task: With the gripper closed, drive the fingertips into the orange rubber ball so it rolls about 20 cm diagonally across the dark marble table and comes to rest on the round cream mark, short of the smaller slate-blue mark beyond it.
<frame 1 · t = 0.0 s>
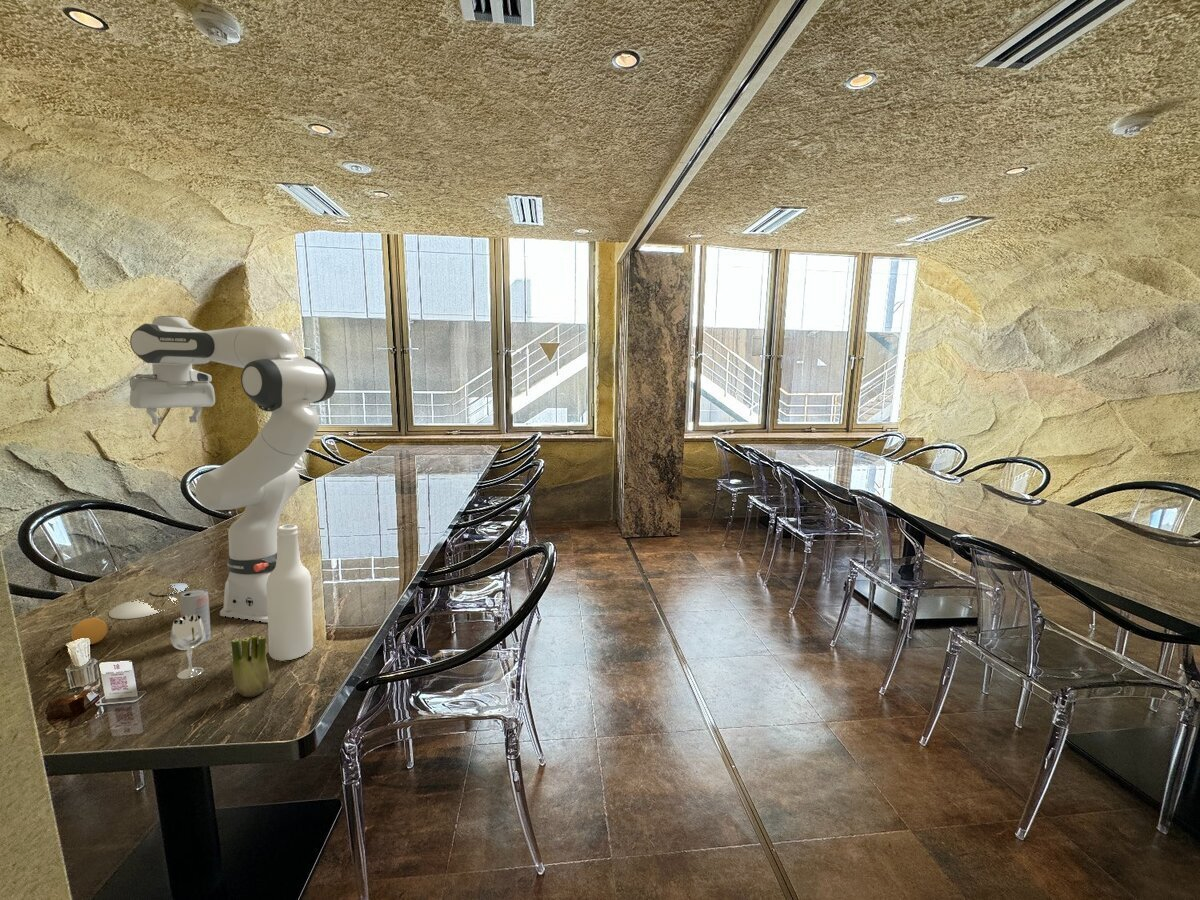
hand: (176, 423, 152), 48 cm above the table, tool pointing down, fingers open, 8 cm apart
energy drink: (196, 641, 125), on the table
white bottle: (291, 653, 122), on the table
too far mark: (170, 589, 153), on the table
fennel bulb: (253, 693, 107), on the table
ball: (89, 631, 122), on the table
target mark: (144, 607, 141), on the table
wineglass: (190, 673, 112), on the table
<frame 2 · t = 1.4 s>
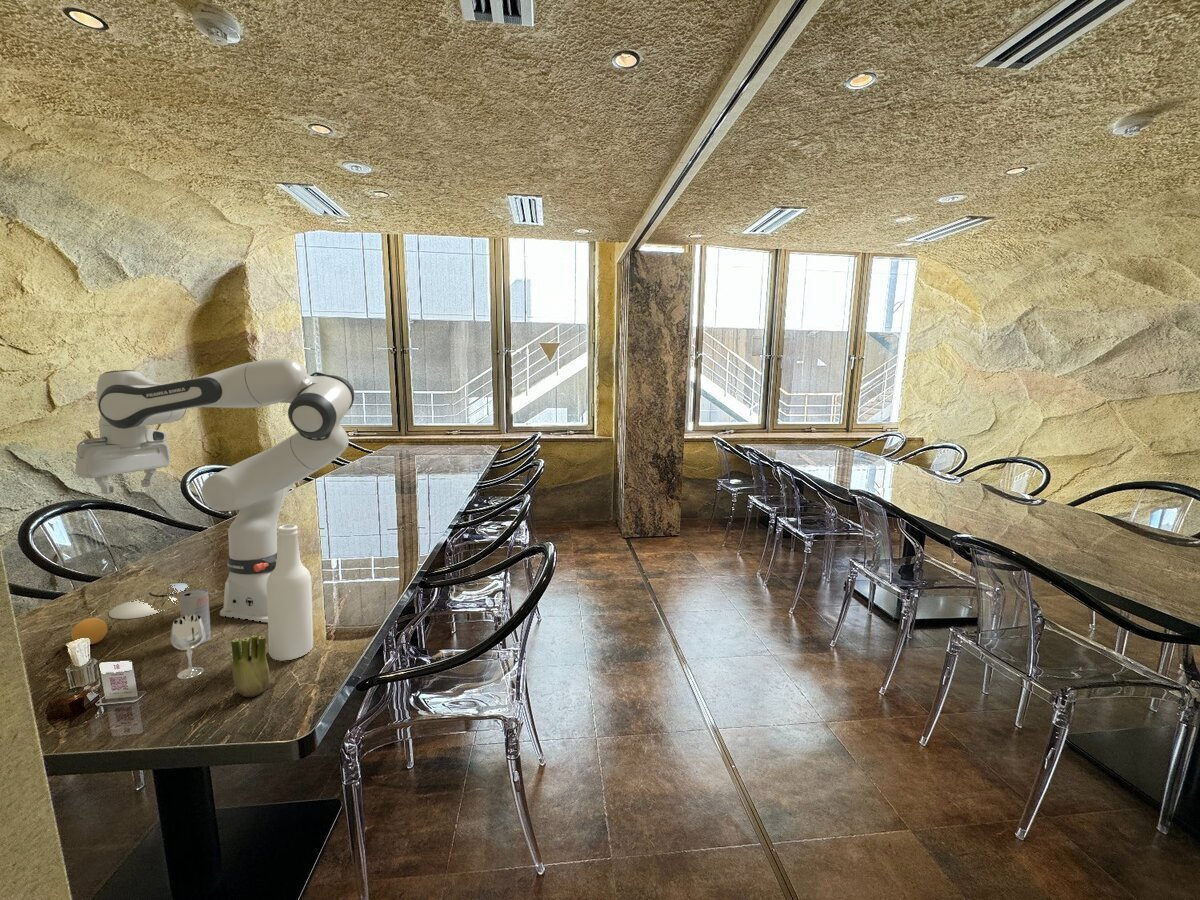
hand: (127, 490, 133), 33 cm above the table, tool pointing down, fingers open, 8 cm apart
nothing on the table moved.
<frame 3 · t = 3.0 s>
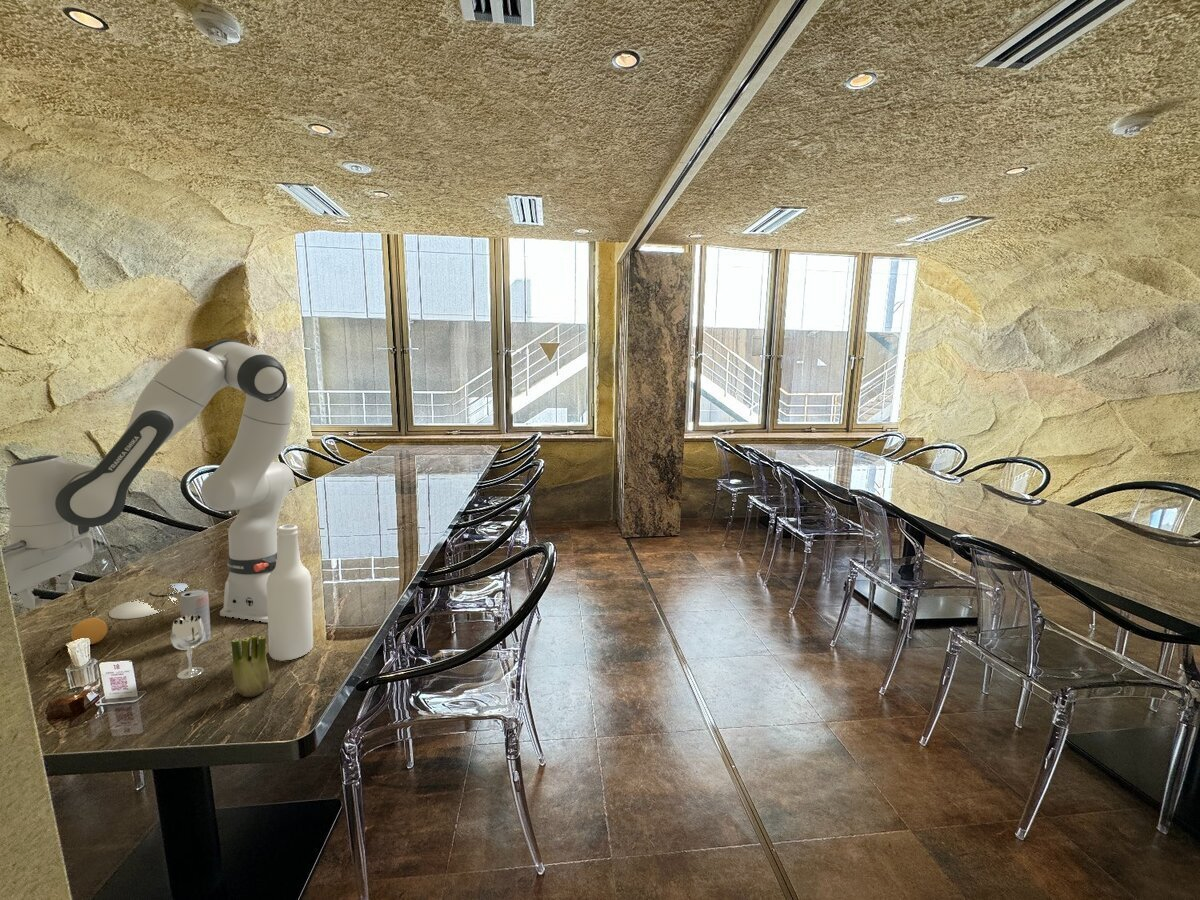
hand: (48, 598, 111), 15 cm above the table, tool pointing down, fingers open, 6 cm apart
nothing on the table moved.
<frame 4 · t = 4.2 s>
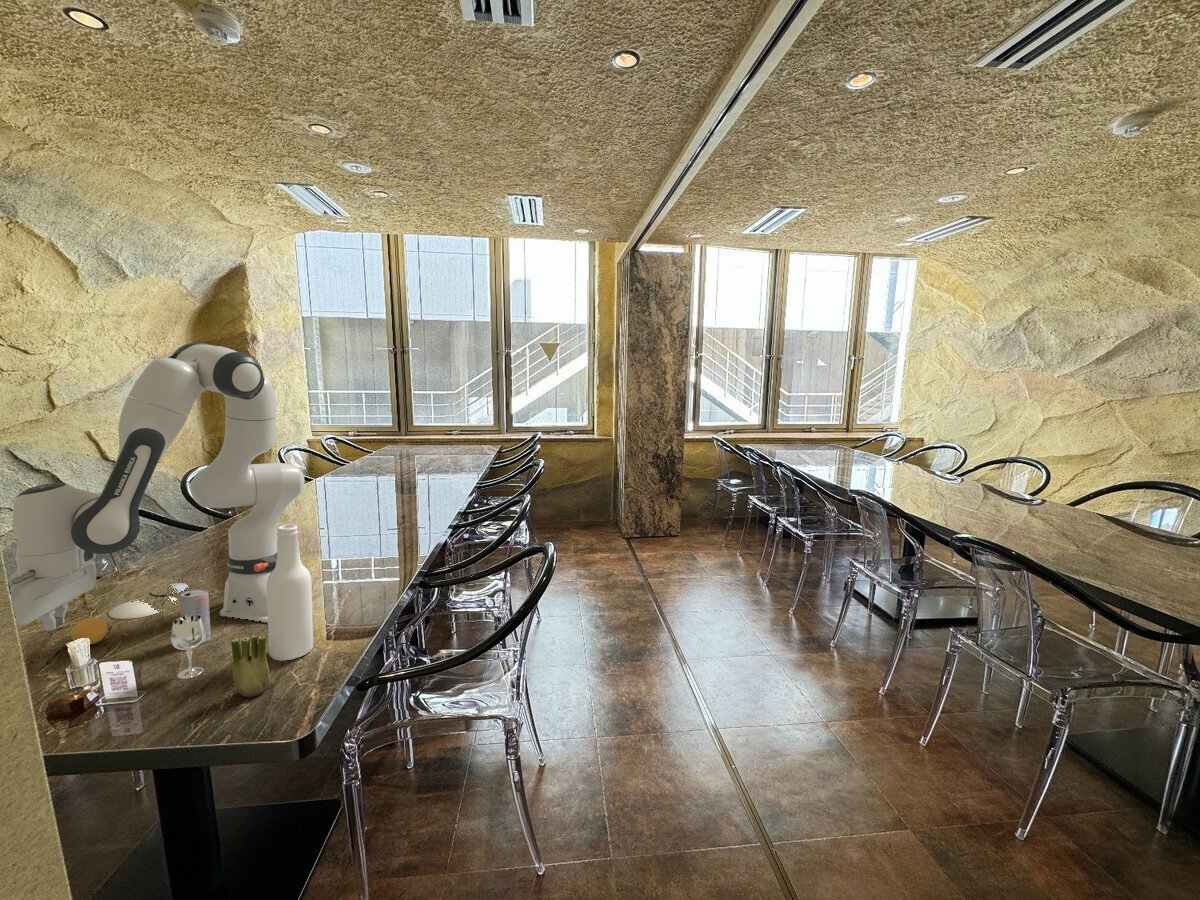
hand: (54, 627, 110), 10 cm above the table, tool pointing down, fingers closed
nothing on the table moved.
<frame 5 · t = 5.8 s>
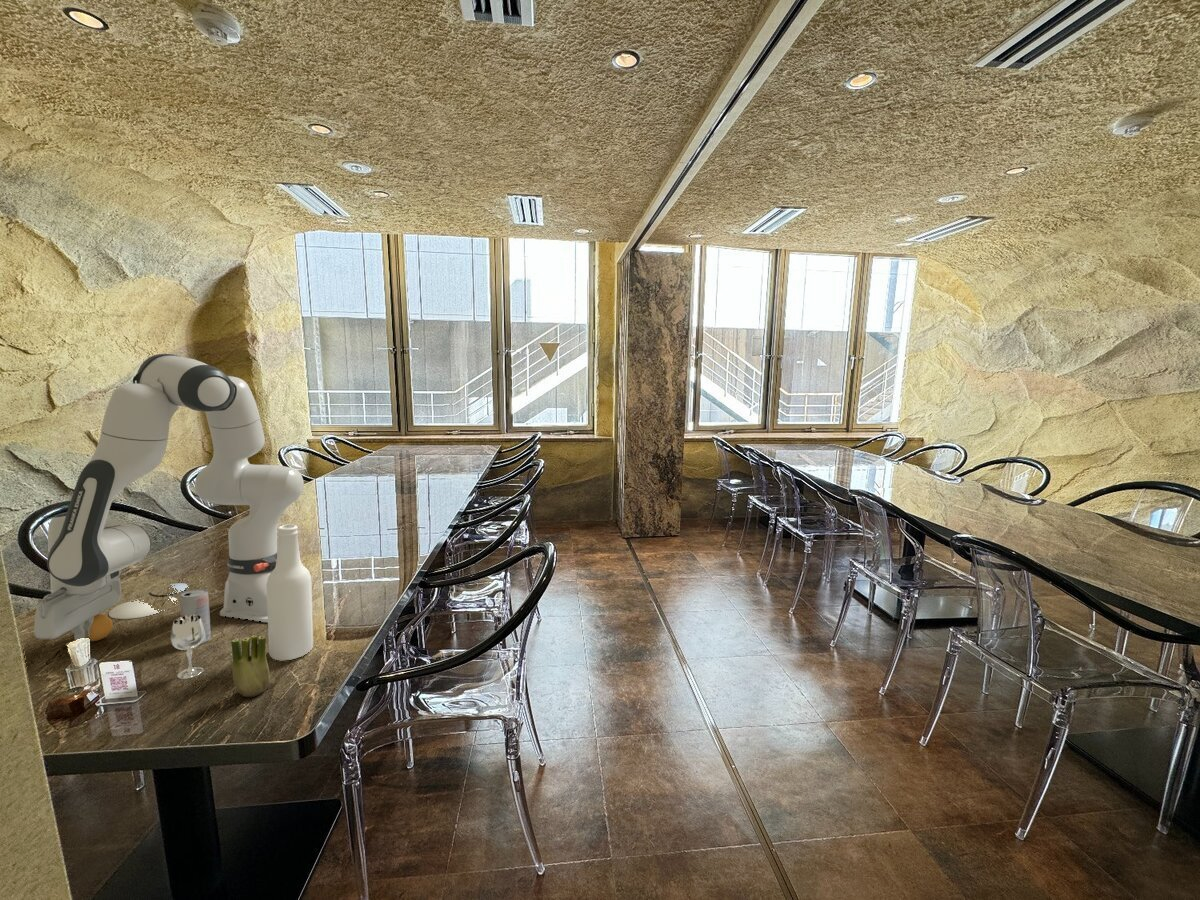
hand: (82, 639, 120), 2 cm above the table, tool pointing down, fingers closed
ball: (95, 627, 123), on the table, touching gripper
everything else where it was.
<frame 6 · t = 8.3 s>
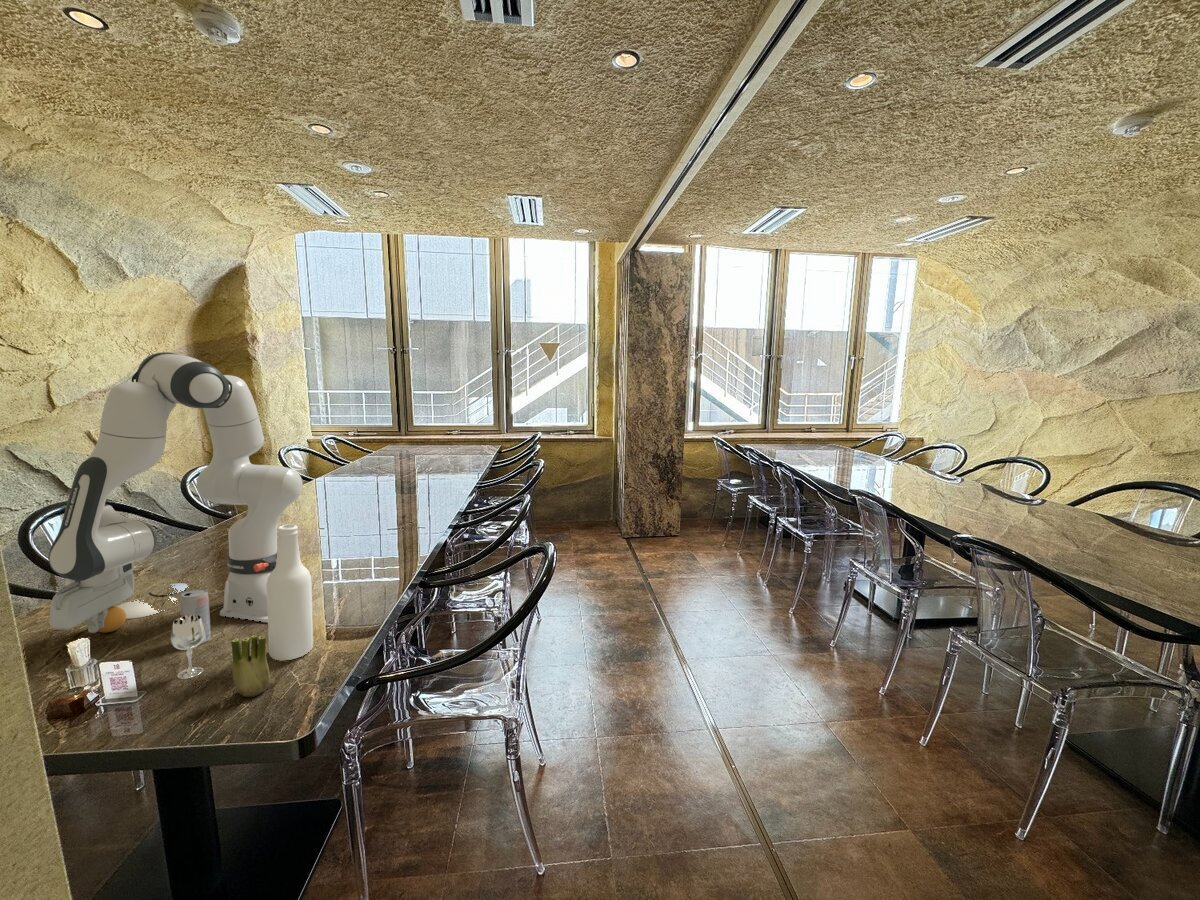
hand: (96, 630, 124), 2 cm above the table, tool pointing down, fingers closed
ball: (109, 619, 128), on the table, touching gripper
everything else where it was.
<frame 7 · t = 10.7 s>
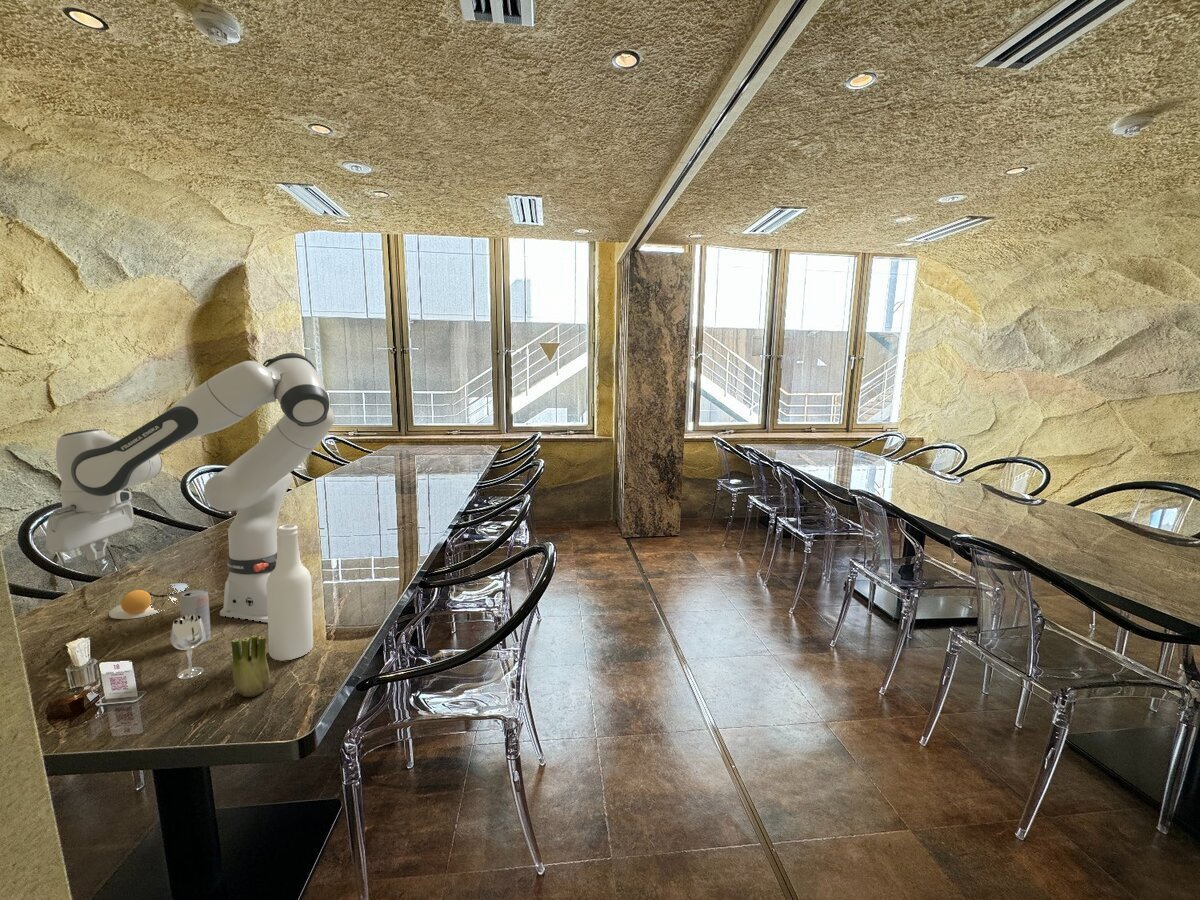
hand: (96, 558, 123), 19 cm above the table, tool pointing down, fingers closed
ball: (136, 601, 138), on the table
everything else where it was.
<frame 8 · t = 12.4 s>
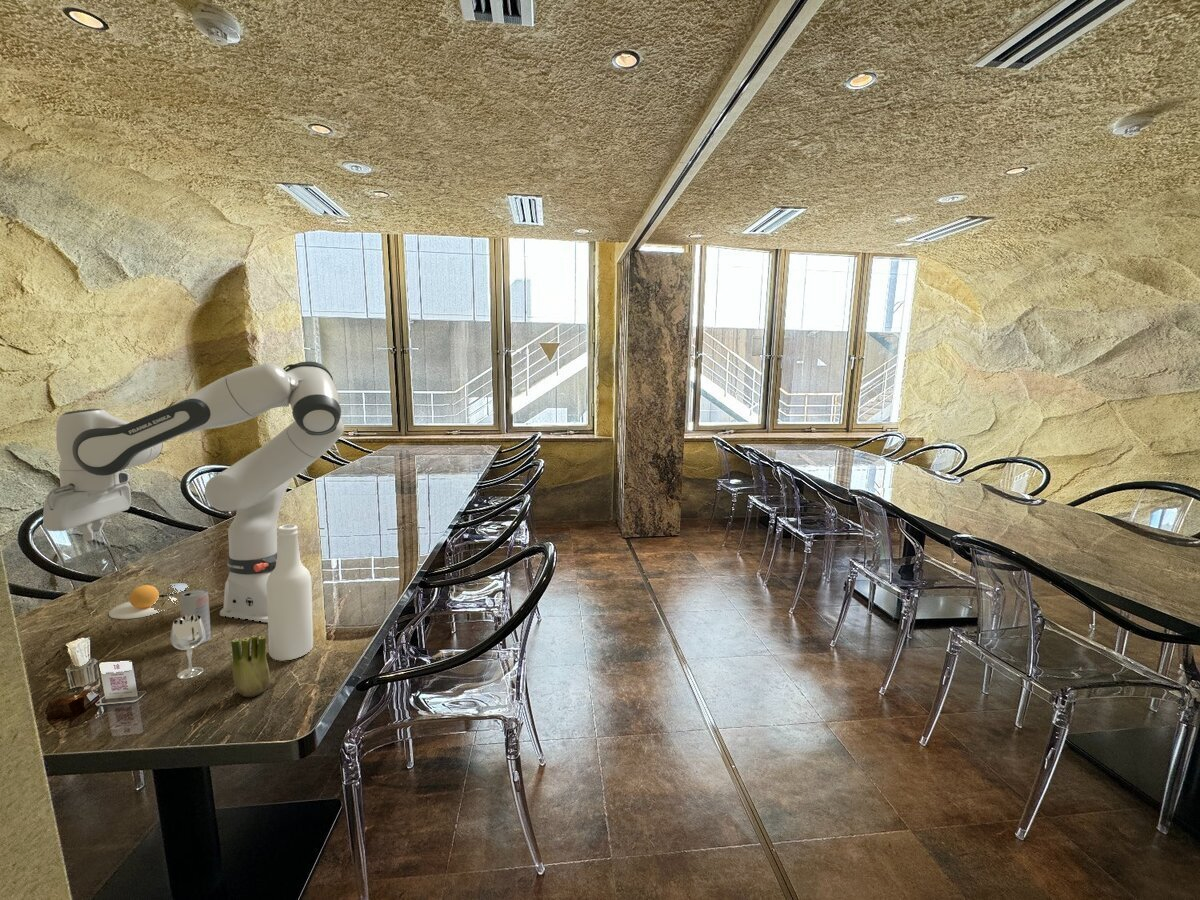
hand: (92, 539, 122), 24 cm above the table, tool pointing down, fingers closed
ball: (144, 596, 141), on the table
everything else where it was.
at the end: ball 0.2 cm from the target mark (horizontally); ball at rest at the end (0.0 cm/s); ball moved 19.9 cm from its start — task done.
